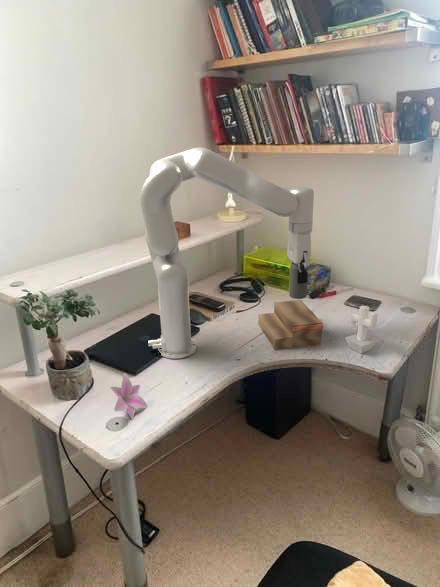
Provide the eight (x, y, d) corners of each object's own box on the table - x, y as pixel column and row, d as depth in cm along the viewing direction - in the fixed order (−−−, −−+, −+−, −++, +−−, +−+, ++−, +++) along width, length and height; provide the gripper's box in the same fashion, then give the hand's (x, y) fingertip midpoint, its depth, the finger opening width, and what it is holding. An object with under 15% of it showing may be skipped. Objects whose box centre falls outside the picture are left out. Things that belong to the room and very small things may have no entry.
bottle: (286, 297, 154) (287, 254, 148) (292, 291, 158) (293, 250, 153) (303, 300, 151) (305, 257, 146) (309, 294, 156) (310, 252, 150)
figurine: (356, 340, 154) (360, 299, 148) (379, 351, 146) (384, 308, 141) (341, 346, 150) (344, 304, 144) (364, 358, 143) (368, 314, 137)
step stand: (275, 351, 148) (275, 328, 145) (258, 324, 167) (258, 304, 164) (321, 345, 151) (323, 323, 148) (299, 319, 170) (300, 299, 167)
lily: (109, 430, 115) (122, 407, 111) (93, 397, 121) (105, 374, 117) (146, 423, 123) (159, 401, 119) (129, 392, 129) (141, 371, 125)
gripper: (280, 221, 153) (279, 272, 160) (298, 234, 137) (296, 290, 144) (301, 220, 154) (300, 270, 161) (322, 232, 139) (319, 287, 145)
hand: (298, 279), depth 153 cm, fingers closed on bottle, 5 cm apart
